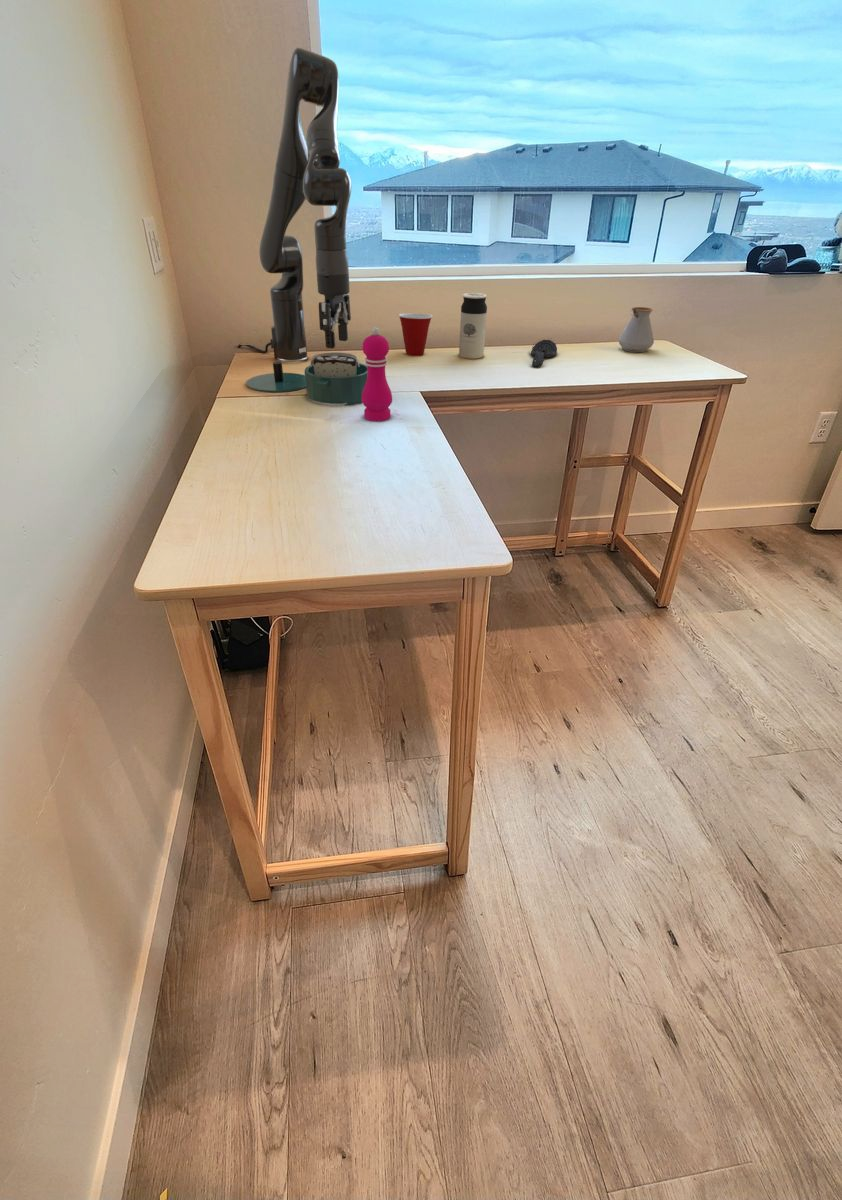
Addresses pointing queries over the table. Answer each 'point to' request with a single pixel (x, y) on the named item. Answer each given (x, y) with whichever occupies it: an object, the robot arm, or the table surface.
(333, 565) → the table surface
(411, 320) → the plastic cup
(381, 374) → the pepper mill
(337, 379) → the pot
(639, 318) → the coffee pot
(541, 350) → the hairbrush
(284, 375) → the pot lid
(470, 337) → the travel mug
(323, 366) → the food container
